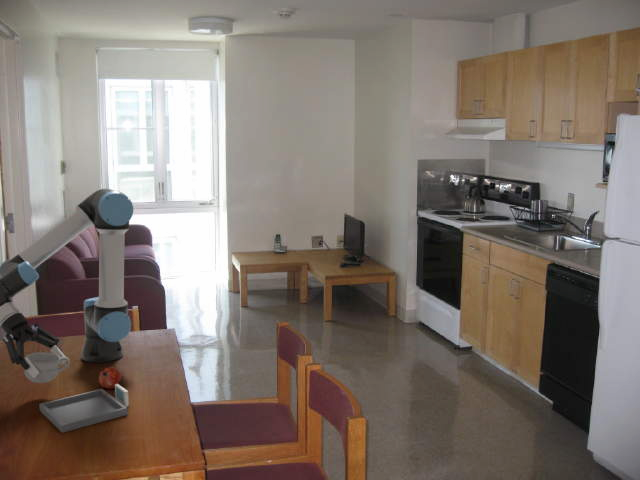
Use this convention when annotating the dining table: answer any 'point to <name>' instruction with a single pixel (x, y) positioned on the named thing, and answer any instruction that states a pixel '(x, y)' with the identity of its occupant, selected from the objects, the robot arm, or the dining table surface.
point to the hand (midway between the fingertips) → (51, 368)
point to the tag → (121, 395)
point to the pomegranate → (109, 377)
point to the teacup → (45, 366)
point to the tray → (82, 410)
